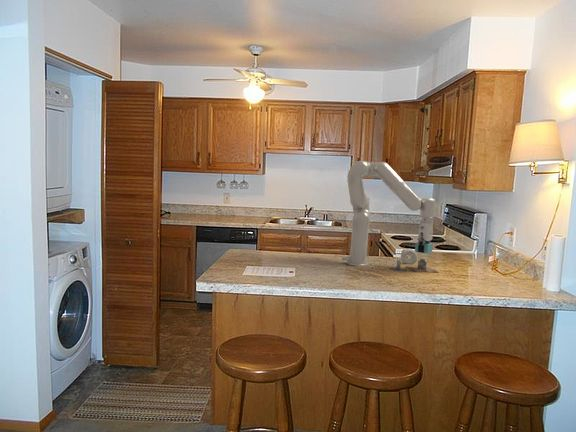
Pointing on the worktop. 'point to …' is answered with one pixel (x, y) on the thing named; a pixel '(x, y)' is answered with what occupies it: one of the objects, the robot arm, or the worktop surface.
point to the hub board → (421, 267)
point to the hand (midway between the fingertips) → (423, 251)
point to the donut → (404, 255)
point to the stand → (398, 267)
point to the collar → (425, 247)
